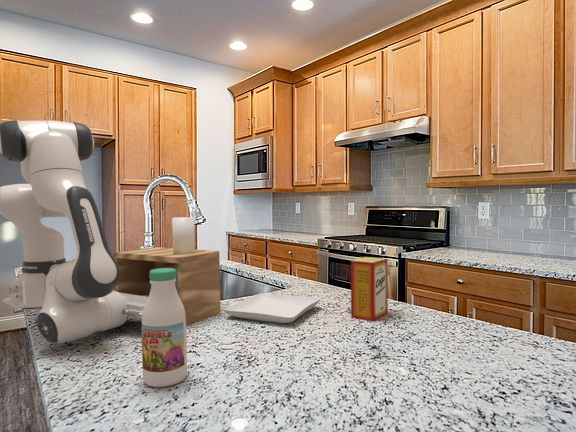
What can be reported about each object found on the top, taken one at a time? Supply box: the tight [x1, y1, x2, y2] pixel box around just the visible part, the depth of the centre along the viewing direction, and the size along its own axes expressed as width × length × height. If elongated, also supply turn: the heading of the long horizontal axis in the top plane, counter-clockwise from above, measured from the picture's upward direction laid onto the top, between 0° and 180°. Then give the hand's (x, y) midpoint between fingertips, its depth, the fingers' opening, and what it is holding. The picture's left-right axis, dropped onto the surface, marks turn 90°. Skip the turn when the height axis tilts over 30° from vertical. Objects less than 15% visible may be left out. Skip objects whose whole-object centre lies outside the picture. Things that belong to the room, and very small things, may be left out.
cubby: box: [112, 246, 222, 327], centre depth 113 cm, size 27×15×18 cm, turn 61°
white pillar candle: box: [171, 216, 196, 254], centre depth 109 cm, size 6×6×10 cm
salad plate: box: [224, 292, 322, 324], centre depth 112 cm, size 21×21×3 cm
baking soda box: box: [350, 256, 389, 323], centre depth 108 cm, size 10×6×16 cm
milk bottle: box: [141, 268, 188, 388], centre depth 71 cm, size 8×8×20 cm
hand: (154, 298), depth 109 cm, fingers closed, pressing on foam cup
